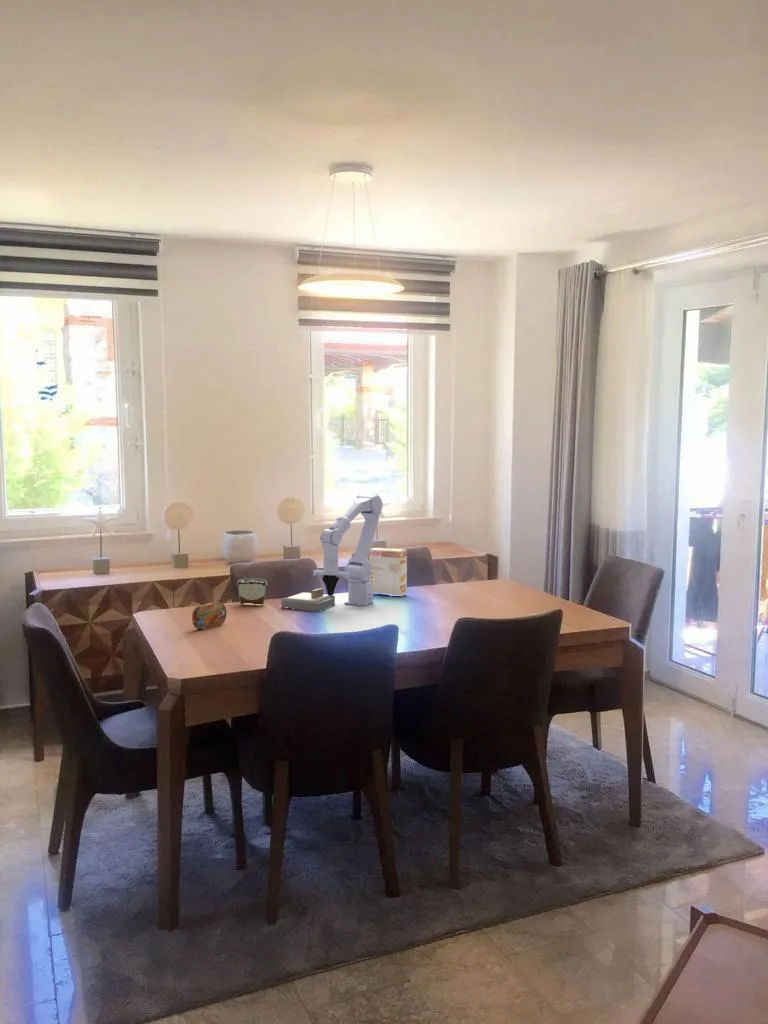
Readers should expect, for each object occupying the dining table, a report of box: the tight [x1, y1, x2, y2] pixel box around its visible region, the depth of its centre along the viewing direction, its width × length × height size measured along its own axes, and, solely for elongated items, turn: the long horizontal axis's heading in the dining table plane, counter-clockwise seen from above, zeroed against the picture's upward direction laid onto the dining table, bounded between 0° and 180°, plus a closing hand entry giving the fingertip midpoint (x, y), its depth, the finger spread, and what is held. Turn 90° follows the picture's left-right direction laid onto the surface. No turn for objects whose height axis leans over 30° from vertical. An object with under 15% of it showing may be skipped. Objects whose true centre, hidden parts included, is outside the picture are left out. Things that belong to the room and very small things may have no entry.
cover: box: [286, 587, 330, 601], centre depth 339 cm, size 12×13×4 cm
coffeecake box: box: [368, 547, 408, 595], centre depth 366 cm, size 15×7×20 cm, turn 59°
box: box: [281, 592, 336, 612], centre depth 339 cm, size 16×14×4 cm
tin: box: [191, 601, 227, 631], centre depth 302 cm, size 15×3×8 cm, turn 148°
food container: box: [236, 578, 269, 605], centre depth 343 cm, size 12×6×10 cm, turn 84°
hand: (330, 595), depth 335 cm, fingers closed
